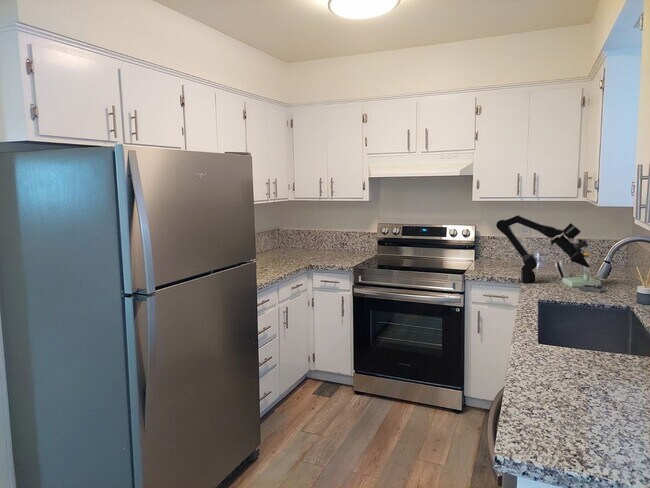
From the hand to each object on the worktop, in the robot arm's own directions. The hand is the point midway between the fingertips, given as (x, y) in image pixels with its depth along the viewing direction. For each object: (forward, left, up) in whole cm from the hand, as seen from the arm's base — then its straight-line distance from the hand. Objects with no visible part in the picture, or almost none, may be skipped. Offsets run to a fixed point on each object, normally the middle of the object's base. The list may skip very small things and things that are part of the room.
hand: (589, 266), depth 240 cm
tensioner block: (-4, -13, -10) cm, 17 cm away
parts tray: (-3, +2, -10) cm, 11 cm away
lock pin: (-1, +1, -8) cm, 8 cm away
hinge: (-2, +29, -10) cm, 31 cm away
